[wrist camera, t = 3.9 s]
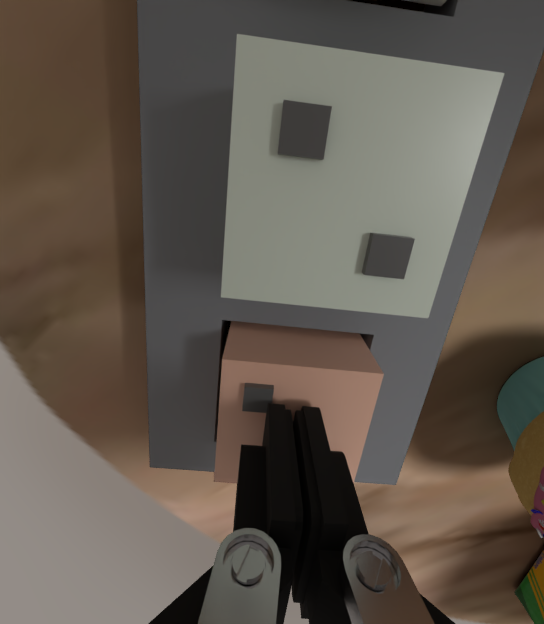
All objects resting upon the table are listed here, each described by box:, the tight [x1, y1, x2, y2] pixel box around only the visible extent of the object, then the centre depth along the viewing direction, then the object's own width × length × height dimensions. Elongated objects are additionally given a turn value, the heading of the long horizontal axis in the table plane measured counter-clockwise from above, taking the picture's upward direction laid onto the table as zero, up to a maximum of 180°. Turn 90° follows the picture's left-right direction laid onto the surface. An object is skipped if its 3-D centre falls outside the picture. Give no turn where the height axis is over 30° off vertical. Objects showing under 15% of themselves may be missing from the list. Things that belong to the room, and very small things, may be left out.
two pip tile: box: [221, 34, 504, 318], centre depth 9 cm, size 5×5×4 cm
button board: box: [137, 0, 544, 485], centre depth 12 cm, size 24×11×2 cm, turn 173°
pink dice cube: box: [214, 321, 384, 484], centre depth 13 cm, size 5×5×4 cm
